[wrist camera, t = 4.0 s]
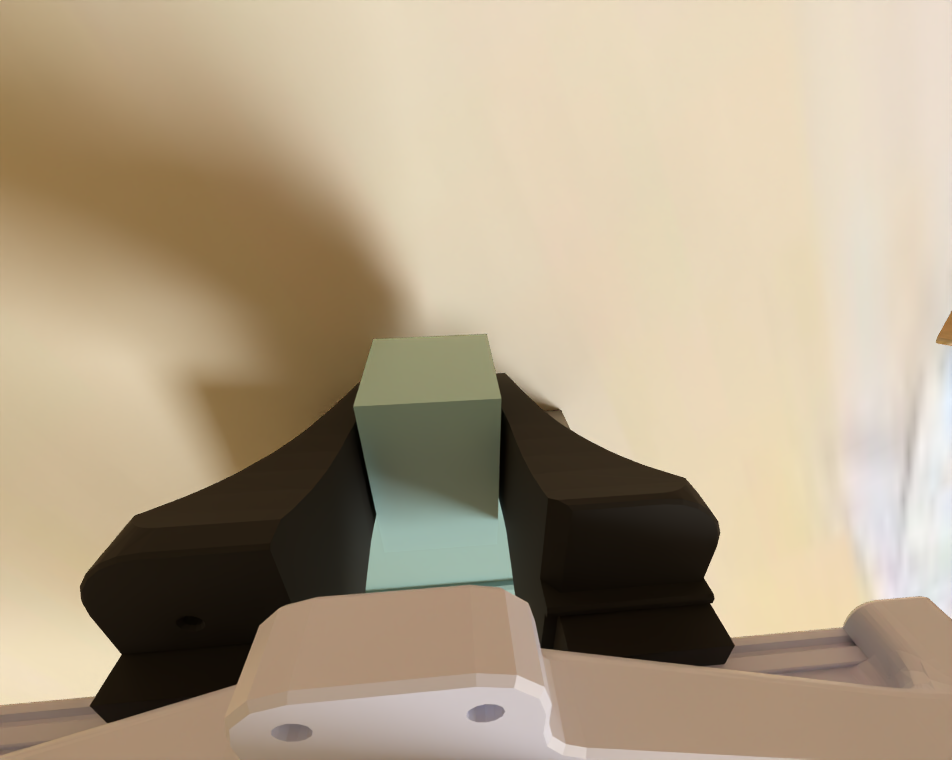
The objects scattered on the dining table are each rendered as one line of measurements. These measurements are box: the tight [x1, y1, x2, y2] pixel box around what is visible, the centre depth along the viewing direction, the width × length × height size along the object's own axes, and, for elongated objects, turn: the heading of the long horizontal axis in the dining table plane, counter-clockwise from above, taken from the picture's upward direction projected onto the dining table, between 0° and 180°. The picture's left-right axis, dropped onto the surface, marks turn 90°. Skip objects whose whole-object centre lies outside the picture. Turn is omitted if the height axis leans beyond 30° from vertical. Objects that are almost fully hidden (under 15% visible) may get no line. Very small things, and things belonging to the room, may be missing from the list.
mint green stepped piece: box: [353, 334, 515, 595], centre depth 15 cm, size 20×11×3 cm, turn 1°
